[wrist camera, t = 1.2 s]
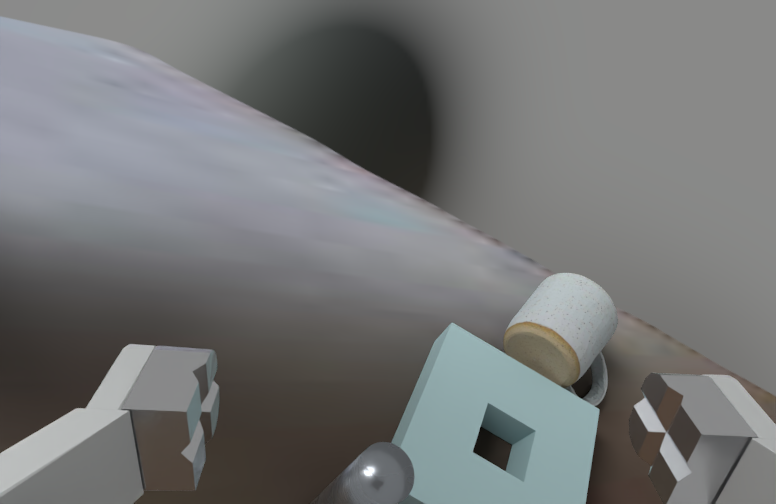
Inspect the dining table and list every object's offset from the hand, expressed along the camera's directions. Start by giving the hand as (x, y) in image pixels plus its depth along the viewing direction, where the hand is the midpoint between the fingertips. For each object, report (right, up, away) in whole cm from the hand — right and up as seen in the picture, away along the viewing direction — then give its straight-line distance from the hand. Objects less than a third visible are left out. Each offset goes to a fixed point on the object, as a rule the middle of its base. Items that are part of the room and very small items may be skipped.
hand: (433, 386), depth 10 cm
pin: (-5, -15, +26) cm, 30 cm away
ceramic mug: (+14, -7, +41) cm, 43 cm away
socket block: (+7, -13, +32) cm, 36 cm away
